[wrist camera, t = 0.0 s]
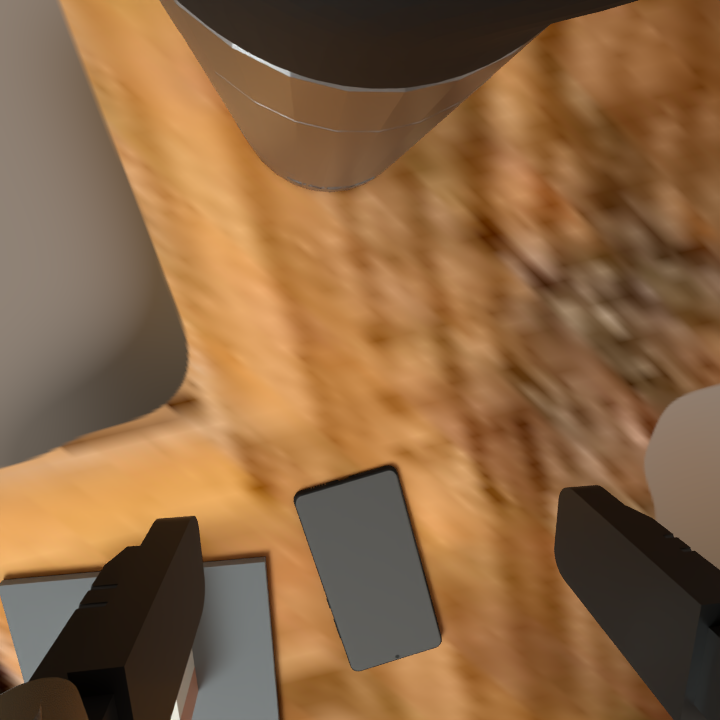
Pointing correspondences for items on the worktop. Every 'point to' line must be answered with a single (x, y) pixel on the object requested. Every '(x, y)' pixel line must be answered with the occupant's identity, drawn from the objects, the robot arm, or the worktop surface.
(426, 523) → the worktop surface
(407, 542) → the smartphone
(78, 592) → the mat
